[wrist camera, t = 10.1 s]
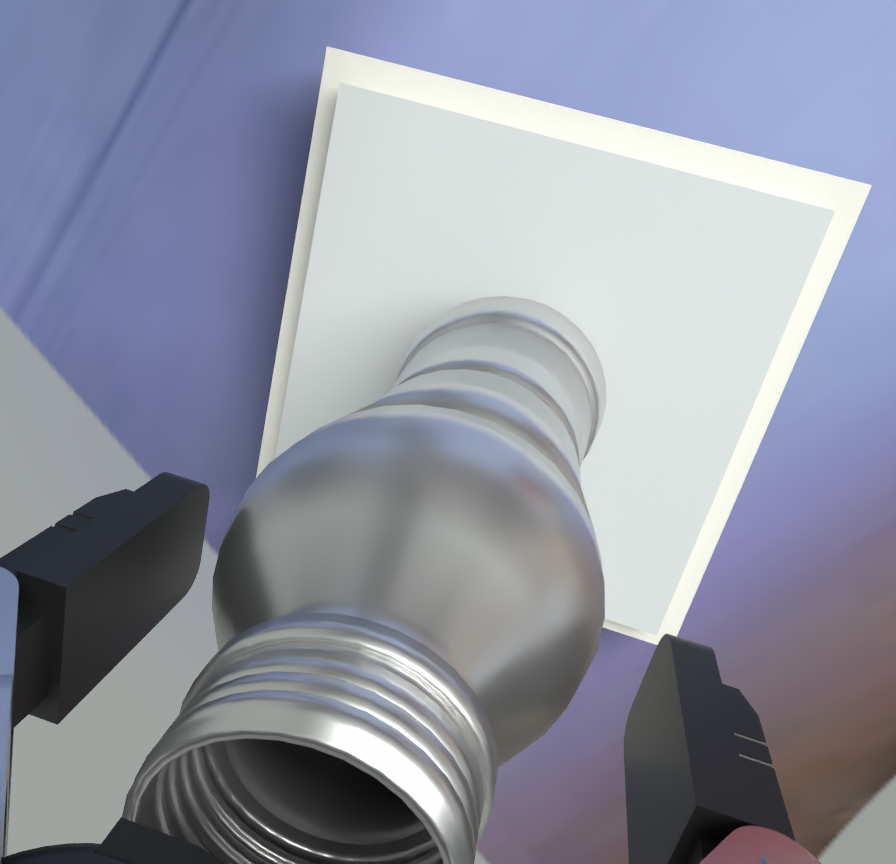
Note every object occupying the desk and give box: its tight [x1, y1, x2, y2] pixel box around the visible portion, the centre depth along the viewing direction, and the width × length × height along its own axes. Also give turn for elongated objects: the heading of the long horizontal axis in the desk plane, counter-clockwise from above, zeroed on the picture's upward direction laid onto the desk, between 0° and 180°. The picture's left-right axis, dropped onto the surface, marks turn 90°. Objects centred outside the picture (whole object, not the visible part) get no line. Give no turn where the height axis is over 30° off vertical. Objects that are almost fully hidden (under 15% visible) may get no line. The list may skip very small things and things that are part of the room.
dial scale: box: [256, 46, 872, 645], centre depth 28 cm, size 21×18×8 cm
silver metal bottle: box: [122, 296, 606, 864], centre depth 17 cm, size 6×7×20 cm
